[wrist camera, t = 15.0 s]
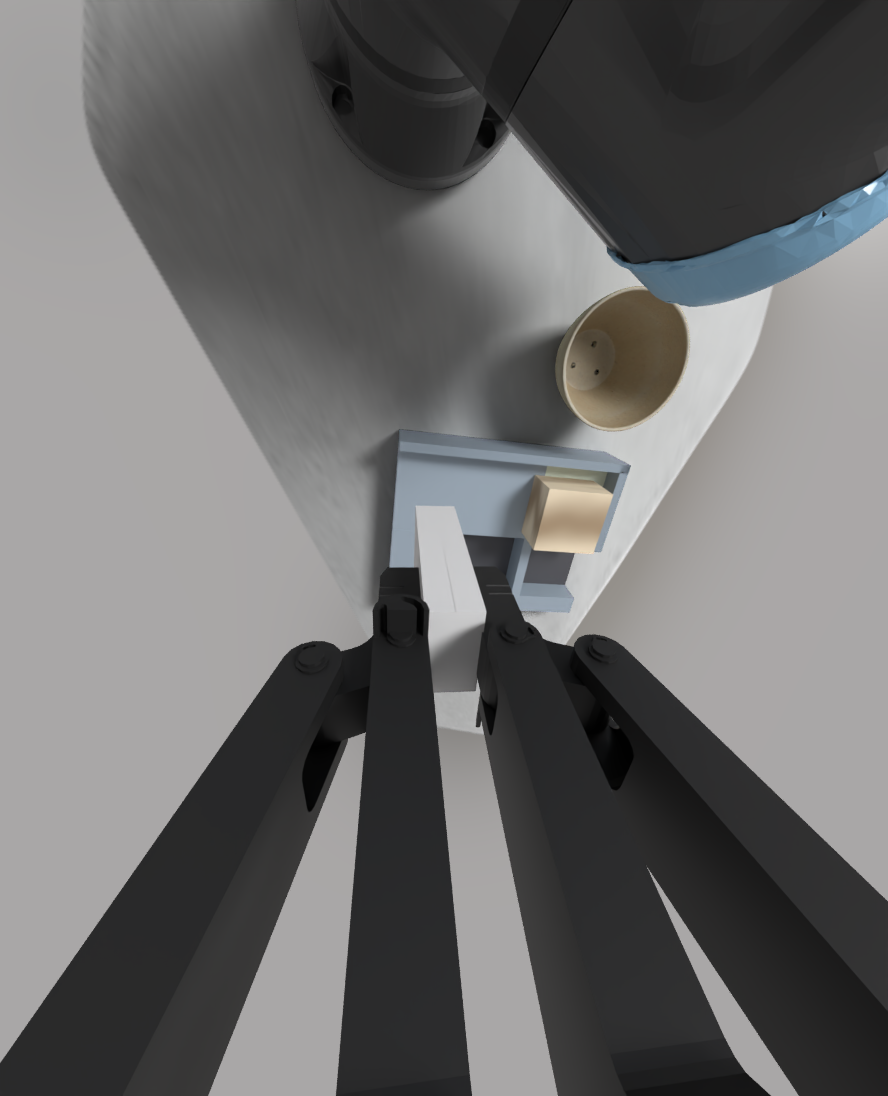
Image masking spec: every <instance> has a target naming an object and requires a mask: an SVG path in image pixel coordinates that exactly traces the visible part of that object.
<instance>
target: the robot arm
mask: <svg viewBox="0 0 888 1096" xmlns="http://www.w3.org/2000/svg"><path fill="white" fill-rule="evenodd" d="M296 8H297V16H298V23H299V29H300V34H301V39H302V43H303V47H304V51H305V55H306V58H307V62H308V65H309V68H310V71H311V75H312V78H313V81H314V84H315V87H316V90H317V92H318V95H319V97H320V100H321V102H322V104H323V107H324V109H325V111H326V113H327V115H328V117H329V119H330V120H331V122H332V124H333V126H334V127H335V129H336V130H337V132H338V133H339V135H340V136H341V138H342V139H343V141H344V142H345V143H346V145H347V146H348V147H349V148H350V149H351V151H352V152H353V153H354V154H355V155H356V156H357V157H358V158H359V159H360V160H361V161H362V162H363V163H364V164H365V165H367V166H368V167H369V168H370V169H372V170H373V171H374V172H376V173H377V174H379V175H380V176H382V177H384V178H385V179H387V180H389V181H391V182H394V183H396V184H399V185H401V186H404V187H408V188H413V189H421V190H434V189H441V188H446V187H450V186H452V185H455V184H458V183H460V182H462V181H464V180H466V179H468V178H469V177H471V176H472V175H474V174H475V173H477V172H478V171H479V170H480V169H482V168H483V167H484V166H485V165H486V164H487V163H488V162H489V161H490V160H491V159H492V158H493V157H494V156H495V154H496V153H497V152H498V151H499V149H500V148H501V147H502V145H503V144H504V142H505V141H506V139H507V137H508V136H509V134H510V132H512V133H513V135H514V136H515V137H516V138H517V139H518V141H519V142H520V143H521V144H522V145H523V147H524V148H525V149H526V150H527V151H528V153H529V154H530V155H531V156H532V157H533V158H534V160H535V161H536V162H537V163H538V164H539V166H540V167H541V168H542V169H543V170H544V172H545V173H546V174H547V175H548V176H549V178H550V179H551V180H552V181H553V182H554V184H555V185H556V186H557V187H558V188H559V190H560V191H561V192H562V193H563V194H564V196H565V197H566V198H567V199H568V200H569V202H570V203H571V204H572V205H573V206H574V208H575V209H576V210H577V211H578V212H579V214H580V215H581V216H582V217H583V218H584V219H585V221H586V222H587V223H588V224H589V225H590V227H591V228H592V229H593V230H594V231H595V233H596V234H597V235H598V236H599V237H600V239H601V240H602V241H603V242H604V243H605V245H606V246H607V253H608V254H609V255H610V257H611V258H612V259H613V261H614V262H616V263H617V264H618V265H620V266H622V267H624V268H627V269H629V270H630V271H631V272H632V273H633V274H634V275H635V276H636V277H637V278H638V279H639V281H640V282H641V283H642V284H643V285H644V286H645V287H646V288H647V289H648V290H649V291H650V292H651V293H652V294H653V295H654V296H655V297H657V298H658V299H660V300H662V301H664V302H666V303H677V304H679V305H685V306H688V307H697V306H707V305H713V304H718V303H723V302H727V301H731V300H734V299H737V298H741V297H744V296H747V295H750V294H752V293H755V292H757V291H760V290H763V289H765V288H767V287H770V286H772V285H774V284H776V283H779V282H781V281H783V280H785V279H787V278H789V277H791V276H794V275H796V274H798V273H800V272H801V271H803V270H805V269H807V268H809V267H811V266H813V265H815V264H816V263H818V262H820V261H822V260H823V259H825V258H827V257H829V256H830V255H832V254H834V253H835V252H837V251H839V250H840V249H842V248H843V247H845V246H846V245H848V244H850V243H851V242H853V241H854V240H856V239H857V238H859V237H860V236H862V235H863V234H865V233H866V232H868V231H869V230H870V229H872V228H873V227H874V226H876V225H877V224H879V223H880V222H881V221H883V220H884V219H885V218H887V217H888V0H296ZM477 678H478V683H479V687H480V697H479V704H478V711H477V718H476V727H480V724H481V721H482V726H483V731H484V735H485V740H486V745H487V750H488V755H489V760H490V765H491V770H492V775H493V779H494V784H495V789H496V794H497V799H498V804H499V808H500V814H501V819H502V824H503V828H504V833H505V838H506V843H507V848H508V852H509V857H510V862H511V867H512V873H513V877H514V882H515V887H516V891H517V897H518V902H519V907H520V912H521V917H522V921H523V926H524V931H525V936H526V941H527V946H528V951H529V956H530V961H531V965H532V970H533V975H534V980H535V985H536V990H537V995H538V1000H539V1004H540V1010H541V1015H542V1019H543V1024H544V1029H545V1034H546V1039H547V1044H548V1049H549V1054H550V1059H551V1064H552V1068H553V1073H554V1078H555V1083H556V1088H557V1092H558V1096H771V1095H769V1094H768V1093H767V1092H766V1091H765V1090H764V1089H763V1088H762V1087H761V1086H760V1085H759V1084H758V1083H756V1082H755V1081H754V1080H753V1079H752V1078H751V1077H750V1076H749V1075H748V1074H747V1073H746V1072H745V1071H744V1070H743V1068H742V1067H741V1065H740V1064H739V1063H738V1061H737V1059H736V1058H735V1057H734V1055H733V1053H732V1051H731V1049H730V1047H729V1045H728V1043H727V1041H726V1039H725V1038H724V1035H723V1033H722V1031H721V1029H720V1027H719V1024H718V1022H717V1020H716V1018H715V1016H714V1014H713V1011H712V1009H711V1007H710V1005H709V1002H708V1000H707V998H706V996H705V994H704V991H703V989H702V987H701V985H700V983H699V981H698V978H697V976H696V974H695V972H694V970H693V967H692V965H691V963H690V961H689V958H688V956H687V954H686V952H685V950H684V948H683V945H682V943H681V941H680V939H679V937H678V935H677V932H676V930H675V928H674V926H673V923H672V922H671V919H670V917H669V915H668V912H667V910H666V908H665V906H664V904H663V902H662V899H661V897H660V895H659V893H658V891H657V888H656V886H655V884H654V882H653V880H652V877H651V875H650V873H649V871H648V869H649V870H650V872H651V873H652V875H653V876H654V878H655V879H656V881H657V882H658V884H659V885H660V887H661V888H662V890H663V891H664V893H665V894H666V896H667V897H668V899H669V900H670V902H671V903H672V905H673V906H674V908H675V909H676V911H677V912H678V914H679V915H680V917H681V918H682V920H683V921H684V923H685V924H686V926H687V927H688V929H689V931H690V932H691V933H692V935H693V937H694V938H695V939H696V941H697V943H698V944H699V945H700V947H701V949H702V950H703V952H704V953H705V955H706V956H707V958H708V959H709V961H710V962H711V964H712V965H713V967H714V968H715V970H716V971H717V973H718V974H719V976H720V977H721V978H722V980H723V982H724V983H725V985H726V986H727V988H728V989H729V991H730V992H731V994H732V995H733V997H734V998H735V1000H736V1001H737V1003H738V1004H739V1006H740V1007H741V1009H742V1011H743V1012H744V1014H745V1015H746V1017H747V1018H748V1020H749V1021H750V1023H751V1024H752V1026H753V1027H754V1029H755V1030H756V1032H757V1033H758V1035H759V1036H760V1038H761V1039H762V1041H763V1042H764V1044H765V1045H766V1047H767V1048H768V1050H769V1051H770V1053H771V1054H772V1056H773V1057H774V1059H775V1060H776V1062H777V1063H778V1065H779V1066H780V1068H781V1069H782V1071H783V1072H784V1074H785V1075H786V1077H787V1078H788V1080H789V1081H790V1083H791V1084H792V1086H793V1087H794V1089H795V1090H796V1092H797V1094H798V1095H799V1096H888V901H887V900H886V899H885V898H884V897H883V896H882V895H880V894H879V893H878V892H877V891H876V890H875V889H874V888H873V887H872V886H871V885H870V884H869V883H868V882H867V881H866V880H865V879H864V878H863V877H862V876H861V875H860V874H859V873H857V871H856V870H855V869H853V868H852V867H851V866H850V865H849V864H848V863H847V862H846V861H845V860H844V859H843V858H842V857H841V856H840V855H839V854H838V853H837V852H836V851H835V850H834V849H833V848H832V847H831V846H830V845H828V843H827V842H825V841H824V840H823V839H822V838H821V837H820V836H819V835H818V834H817V833H816V832H815V831H814V830H813V829H812V828H811V827H810V826H809V825H808V824H807V823H806V822H805V821H804V820H803V819H802V818H800V816H799V815H797V814H796V813H795V812H794V811H793V810H792V809H791V808H790V807H789V806H788V805H787V804H786V803H785V802H784V801H783V800H782V799H781V798H780V797H779V796H778V795H777V794H775V792H774V791H773V790H772V789H771V788H769V787H768V786H767V785H766V784H765V783H764V782H763V781H762V780H761V779H760V778H759V777H758V776H757V775H756V774H755V773H754V772H753V771H752V770H751V769H750V768H749V767H748V766H747V765H746V764H745V763H743V762H742V761H741V760H740V759H739V758H738V757H737V756H736V755H735V754H734V753H733V752H732V751H731V750H730V749H729V748H728V747H727V746H726V745H725V744H724V743H723V742H722V741H721V740H720V739H719V738H718V737H717V736H715V735H714V734H713V733H712V732H711V731H710V730H709V729H708V728H707V727H706V726H705V725H704V724H703V723H702V722H701V721H700V720H699V719H698V718H697V717H696V716H695V715H694V714H693V713H692V712H691V711H689V709H687V708H686V707H685V706H684V705H683V704H682V703H681V702H680V701H679V700H678V699H677V698H676V697H675V696H674V695H673V694H672V693H671V692H670V691H669V690H668V689H667V688H666V687H665V686H664V685H663V684H662V683H660V682H659V681H658V680H657V679H656V678H655V677H654V676H653V675H652V674H651V673H650V672H649V671H648V670H647V669H646V668H645V667H644V666H643V665H642V664H641V663H640V662H639V661H638V660H637V659H635V657H633V655H631V654H630V653H629V652H628V651H627V650H626V649H625V648H624V647H623V646H622V645H620V644H619V643H617V642H616V641H614V640H612V639H610V638H607V637H605V636H600V635H584V636H582V637H579V638H578V639H577V641H576V642H575V644H574V647H571V646H567V645H562V644H557V643H553V642H550V641H547V640H545V639H543V638H542V636H541V634H540V633H539V631H538V630H537V629H536V628H535V627H534V626H532V625H531V624H530V623H528V622H525V621H524V618H523V616H522V614H521V611H520V609H519V607H518V604H517V602H516V599H515V597H514V595H513V594H512V590H511V588H510V586H509V583H508V581H507V578H506V576H505V574H503V573H502V572H501V571H500V570H499V569H498V568H497V567H495V566H472V562H471V559H470V556H469V553H468V549H467V546H466V543H465V540H464V536H463V533H462V530H461V526H460V523H459V520H458V517H457V513H456V510H455V507H454V506H416V508H415V544H414V567H388V568H387V569H386V570H385V571H384V572H383V574H382V575H381V576H380V588H379V601H378V602H377V603H376V604H375V606H374V608H373V636H372V637H371V638H370V639H369V640H368V641H367V642H365V643H364V644H362V645H360V646H358V647H355V648H352V649H349V650H345V651H340V650H339V649H338V648H337V647H336V646H335V645H334V644H331V643H328V642H324V641H312V642H309V643H304V644H301V645H299V646H297V647H295V648H293V649H291V651H289V652H288V653H287V654H286V655H285V656H284V658H283V659H282V661H281V662H280V663H279V665H278V666H277V668H276V669H275V670H274V672H273V673H272V675H271V676H270V678H269V679H268V681H267V682H266V683H265V685H264V686H263V688H262V689H261V690H260V692H259V693H258V695H257V696H256V698H255V699H254V700H253V702H252V703H251V705H250V706H249V708H248V709H247V710H246V712H245V713H244V715H243V716H242V718H241V719H240V721H239V722H238V724H237V725H236V727H235V728H234V729H233V731H232V732H231V733H230V735H229V736H228V738H227V739H226V741H225V742H224V743H223V745H222V746H221V748H220V749H219V751H218V752H217V754H216V755H215V757H214V758H213V759H212V761H211V762H210V763H209V765H208V766H207V768H206V769H205V771H204V772H203V773H202V775H201V776H200V778H199V779H198V781H197V782H196V784H195V785H194V787H193V788H192V789H191V791H190V792H189V794H188V795H187V796H186V798H185V799H184V801H183V802H182V804H181V805H180V806H179V808H178V809H177V811H176V812H175V814H174V815H173V816H172V818H171V819H170V821H169V822H168V824H167V825H166V826H165V828H164V829H163V831H162V832H161V834H160V835H159V837H158V838H157V839H156V841H155V842H154V844H153V845H152V847H151V848H150V850H149V851H148V852H147V854H146V855H145V857H144V858H143V860H142V861H141V863H140V864H139V865H138V867H137V868H136V870H135V871H134V872H133V874H132V875H131V877H130V878H129V879H128V881H127V882H126V884H125V885H124V887H123V888H122V890H121V891H120V892H119V894H118V895H117V897H116V898H115V900H114V901H113V902H112V904H111V905H110V907H109V908H108V910H107V911H106V912H105V914H104V916H103V917H102V918H101V920H100V921H99V923H98V924H97V925H96V927H95V928H94V930H93V931H92V932H91V934H90V935H89V937H88V938H87V940H86V941H85V942H84V944H83V945H82V947H81V948H80V950H79V951H78V953H77V954H76V955H75V957H74V958H73V960H72V961H71V963H70V964H69V966H68V967H67V968H66V970H65V971H64V973H63V974H62V976H61V977H60V978H59V980H58V981H57V983H56V984H55V986H54V987H53V988H52V990H51V991H50V993H49V994H48V995H47V997H46V998H45V1000H44V1001H43V1003H42V1004H41V1006H40V1007H39V1009H38V1010H37V1011H36V1013H35V1014H34V1016H33V1017H32V1018H31V1020H30V1021H29V1023H28V1024H27V1026H26V1027H25V1029H24V1030H23V1031H22V1033H21V1034H20V1036H19V1037H18V1038H17V1040H16V1041H15V1043H14V1044H13V1046H12V1047H11V1049H10V1050H9V1052H8V1053H7V1054H6V1056H5V1057H4V1059H3V1060H2V1061H1V1063H0V1096H208V1094H209V1092H210V1089H211V1087H212V1084H213V1082H214V1079H215V1077H216V1074H217V1072H218V1069H219V1066H220V1064H221V1061H222V1059H223V1056H224V1054H225V1051H226V1049H227V1046H228V1044H229V1041H230V1038H231V1036H232V1034H233V1031H234V1029H235V1026H236V1023H237V1021H238V1018H239V1016H240V1013H241V1011H242V1008H243V1006H244V1003H245V1001H246V998H247V995H248V993H249V991H250V988H251V985H252V983H253V980H254V978H255V975H256V972H257V970H258V968H259V965H260V963H261V960H262V957H263V955H264V953H265V950H266V947H267V945H268V942H269V940H270V937H271V935H272V932H273V930H274V927H275V925H276V922H277V920H278V917H279V915H280V912H281V909H282V907H283V904H284V902H285V899H286V897H287V894H288V892H289V889H290V887H291V884H292V882H293V879H294V877H295V874H296V871H297V869H298V866H299V864H300V861H301V859H302V856H303V854H304V851H305V849H306V846H307V843H308V841H309V839H310V836H311V833H312V831H313V828H314V826H315V823H316V821H317V818H318V816H319V813H320V811H321V808H322V806H323V803H324V801H325V798H326V795H327V793H328V790H329V788H330V785H331V783H332V780H333V778H334V775H335V773H336V770H337V767H338V765H339V763H340V760H341V757H342V755H343V752H344V750H345V747H346V745H347V742H348V738H351V737H354V736H357V735H359V734H362V733H365V732H366V736H365V749H364V761H363V773H362V787H361V798H360V810H359V823H358V835H357V846H356V859H355V871H354V884H353V895H352V907H351V919H350V932H349V944H348V956H347V968H346V980H345V993H344V1005H343V1017H342V1030H341V1043H340V1054H339V1067H338V1078H337V1090H336V1096H472V1091H471V1082H470V1074H469V1063H468V1054H467V1053H468V1052H467V1041H466V1031H465V1020H464V1010H463V999H462V989H461V978H460V967H459V957H458V947H457V936H456V925H455V916H454V904H453V894H452V883H451V873H450V862H449V852H448V841H447V830H446V821H445V809H444V799H443V790H442V789H443V788H442V778H441V767H440V757H439V747H438V736H437V725H436V714H435V704H434V693H435V692H464V691H476V684H477ZM613 720H614V721H615V722H616V723H615V722H614V721H613ZM647 867H648V869H647Z"/></svg>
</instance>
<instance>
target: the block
mask: <svg viewBox="0 0 888 1096" xmlns="http://www.w3.org/2000/svg"><path fill="white" fill-rule="evenodd" d="M612 497H613V494H612V493H610V492H609V491H607V490H606V489H604V488H603V487H602V486H600V485H599V484H597V483H596V482H594V481H592V480H581V479H571V478H561V477H551V476H541V475H535V477H534V481H533V486H532V490H531V494H530V498H529V502H528V506H527V510H526V515H525V519H524V523H523V527H522V531H521V532H522V534H523V535H524V537H525V538H526V540H527V541H528V542H529V544H530V545H531V547H532V548H533V550H539V551H554V552H569V553H584V554H593V553H594V550H595V547H596V544H597V541H598V539H599V536H600V533H601V530H602V527H603V524H604V521H605V518H606V515H607V512H608V509H609V506H610V503H611V500H612Z"/></svg>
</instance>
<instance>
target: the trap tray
mask: <svg viewBox="0 0 888 1096" xmlns="http://www.w3.org/2000/svg"><path fill="white" fill-rule="evenodd" d="M630 467H631V465H629V464H627V463H625V462H623V461H621V460H620V459H618V458H616V457H614V456H612V455H610V454H608V453H606V452H601V451H592V450H583V449H574V448H565V447H556V446H547V445H538V444H528V443H519V442H510V441H501V440H492V439H483V438H474V437H465V436H455V435H446V434H437V433H428V432H419V431H410V430H401V429H399V441H398V454H397V467H396V480H395V493H394V506H393V519H392V532H391V545H390V559H389V567H414V544H415V508H416V506H454V507H455V510H456V513H457V517H458V520H459V523H460V526H461V530H462V533H463V536H464V540H465V543H466V546H467V549H468V553H469V556H470V559H471V562H472V566H495V567H497V568H498V569H499V570H500V571H501V572H502V573H503V574H505V576H506V578H507V581H508V583H509V586H510V588H511V590H512V594H513V595H514V597H515V599H516V602H517V604H518V607H519V609H520V611H543V612H568V613H569V612H570V609H571V606H572V603H573V600H574V597H573V596H572V595H571V593H570V592H569V590H568V589H567V587H566V586H565V583H566V579H567V576H568V573H569V570H570V567H571V563H572V560H573V557H574V554H575V553H569V552H554V551H539V550H533V548H532V547H531V545H530V544H529V542H528V541H527V540H526V538H525V537H524V535H523V534H522V532H521V531H522V527H523V523H524V519H525V515H526V510H527V506H528V502H529V498H530V494H531V490H532V486H533V481H534V477H535V475H541V476H551V477H561V478H571V479H581V480H592V481H594V482H596V483H597V484H599V485H600V486H602V487H603V488H604V489H606V490H607V491H609V492H610V493H612V494H613V497H612V500H611V503H610V506H609V509H608V512H607V515H606V518H605V521H604V524H603V527H602V530H601V533H600V536H599V539H598V541H597V544H596V547H595V550H594V552H601V551H602V548H603V545H604V542H605V539H606V536H607V533H608V530H609V527H610V525H611V522H612V519H613V516H614V513H615V510H616V507H617V504H618V501H619V499H620V496H621V493H622V490H623V487H624V484H625V481H626V478H627V475H628V472H629V470H630Z"/></svg>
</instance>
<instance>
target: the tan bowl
mask: <svg viewBox="0 0 888 1096" xmlns="http://www.w3.org/2000/svg"><path fill="white" fill-rule="evenodd" d="M592 342H593V345H592ZM689 351H690V334H689V328H688V324H687V320H686V317H685V315H684V313H683V311H682V309H681V308H680V306H679V305H678V304H677V303H666V302H664V301H662V300H660V299H658V298H657V297H655V296H654V295H653V294H652V293H651V292H650V291H649V290H648V289H647V288H646V287H645V286H636V287H629V288H625V289H622V290H619V291H616V292H614V293H612V294H610V295H608V296H606V297H604V298H602V299H601V300H599V301H598V302H596V303H595V304H593V305H592V306H591V307H589V308H588V309H587V310H586V311H584V312H583V313H582V314H581V315H580V316H579V317H578V318H577V319H576V320H575V322H574V323H573V324H572V325H571V327H570V328H569V329H568V331H567V332H566V334H565V336H564V338H563V339H562V342H561V344H560V346H559V349H558V353H557V357H556V364H555V375H556V382H557V386H558V389H559V392H560V394H561V396H562V399H563V400H564V402H565V404H566V405H567V406H568V408H569V409H570V410H571V412H572V413H573V414H574V415H575V416H576V417H578V418H579V419H580V420H581V421H583V422H584V423H585V424H587V425H589V426H591V427H593V428H596V429H599V430H603V431H622V430H627V429H630V428H633V427H636V426H638V425H640V424H642V423H644V422H645V421H647V420H649V419H650V418H651V417H653V416H654V415H655V414H656V413H658V412H659V411H660V410H661V409H662V408H663V407H664V406H665V405H666V403H667V402H668V401H669V400H670V398H671V397H672V396H673V394H674V393H675V391H676V389H677V388H678V386H679V384H680V382H681V380H682V378H683V375H684V373H685V370H686V367H687V363H688V358H689ZM572 366H575V367H574V368H572ZM596 370H598V371H599V372H598V373H597V372H596Z"/></svg>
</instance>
